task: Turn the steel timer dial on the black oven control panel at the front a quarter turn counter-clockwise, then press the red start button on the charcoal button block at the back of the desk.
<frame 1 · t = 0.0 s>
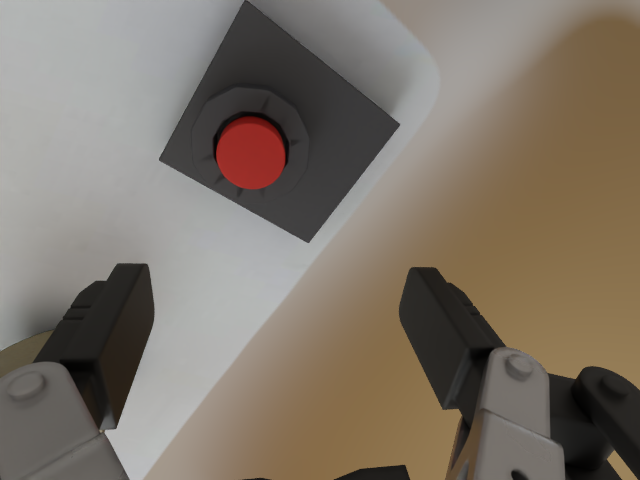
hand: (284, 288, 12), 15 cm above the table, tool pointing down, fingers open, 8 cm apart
button block: (280, 133, 24), on the table
bowl: (68, 349, 31), on the table
start button: (251, 153, 20), point 4 cm above the table, slide at 0.1 cm
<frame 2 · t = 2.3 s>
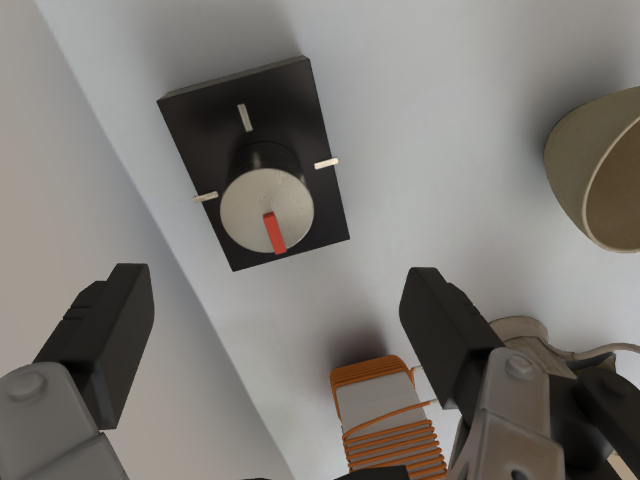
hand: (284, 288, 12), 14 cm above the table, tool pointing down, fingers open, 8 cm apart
bowl: (574, 142, 27), on the table
timer knob: (267, 196, 19), point 5 cm above the table, hinge at 0.0°
coil: (366, 374, 36), on the table
mug: (514, 336, 36), on the table
timer panel: (265, 163, 24), on the table
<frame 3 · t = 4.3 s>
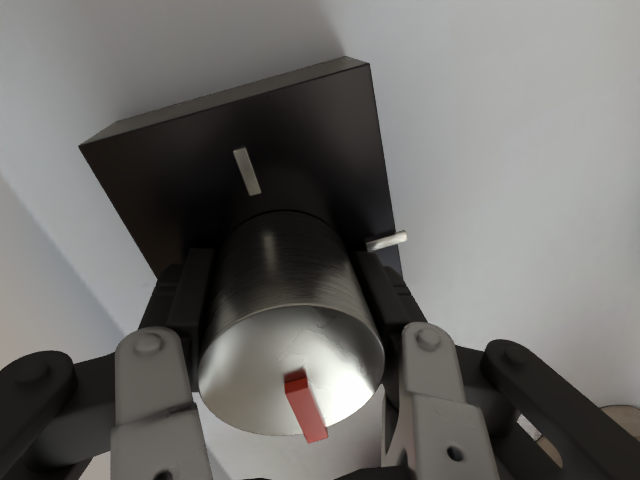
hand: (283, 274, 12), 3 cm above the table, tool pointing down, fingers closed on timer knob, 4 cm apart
timer knob: (288, 317, 10), point 5 cm above the table, hinge at -0.1°, touching gripper
mug: (604, 427, 27), on the table
timer panel: (279, 227, 15), on the table
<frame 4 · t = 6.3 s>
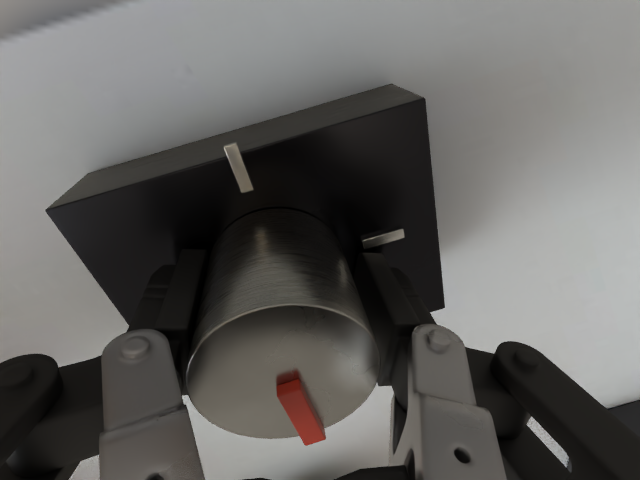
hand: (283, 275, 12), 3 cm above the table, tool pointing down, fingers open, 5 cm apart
button block: (631, 440, 28), on the table
timer knob: (281, 317, 10), point 5 cm above the table, hinge at 92.1°
timer panel: (274, 225, 15), on the table
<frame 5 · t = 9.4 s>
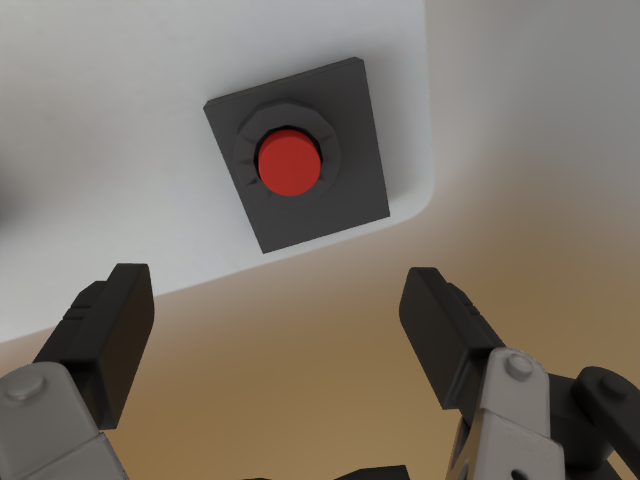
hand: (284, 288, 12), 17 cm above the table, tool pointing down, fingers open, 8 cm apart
button block: (303, 158, 27), on the table
start button: (289, 163, 22), point 4 cm above the table, slide at 0.1 cm
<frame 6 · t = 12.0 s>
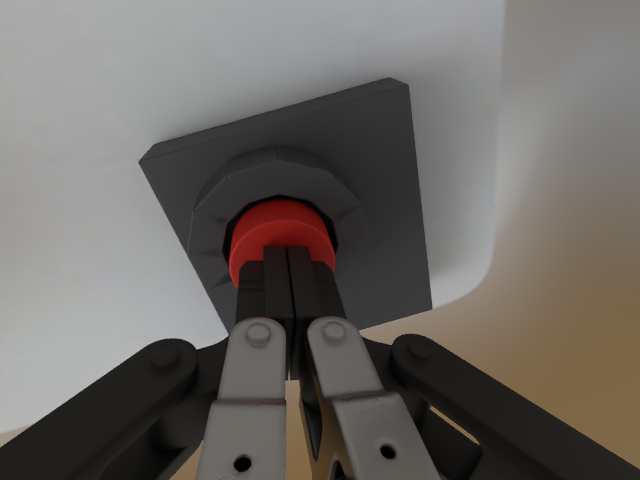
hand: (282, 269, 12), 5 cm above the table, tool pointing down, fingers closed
button block: (306, 225, 18), on the table
start button: (282, 254, 13), point 4 cm above the table, slide at 0.0 cm, touching gripper
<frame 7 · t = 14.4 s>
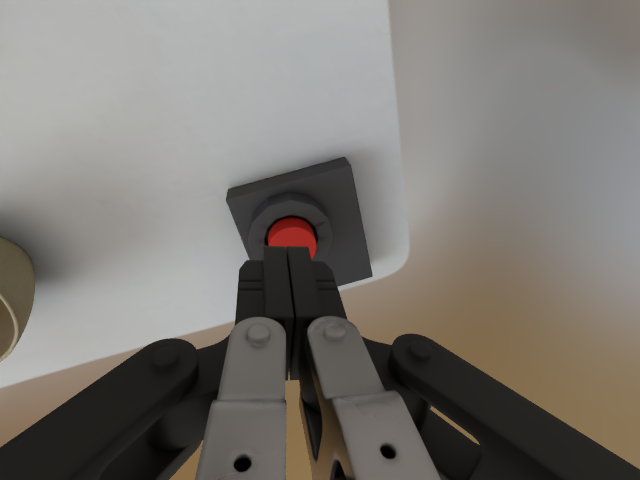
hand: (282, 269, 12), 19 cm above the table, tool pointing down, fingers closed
button block: (303, 229, 33), on the table
start button: (292, 242, 28), point 4 cm above the table, slide at 0.1 cm
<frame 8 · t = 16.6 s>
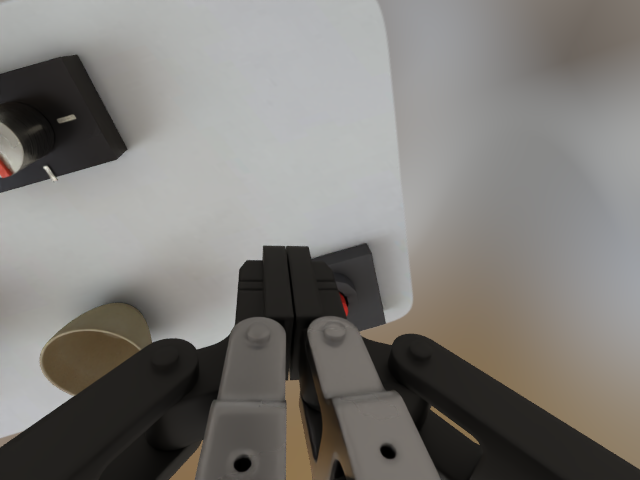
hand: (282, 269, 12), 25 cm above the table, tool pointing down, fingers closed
button block: (335, 291, 45), on the table
bowl: (120, 317, 43), on the table
timer knob: (4, 139, 27), point 5 cm above the table, hinge at 92.1°
start button: (330, 308, 41), point 4 cm above the table, slide at 0.1 cm
timer panel: (42, 122, 31), on the table
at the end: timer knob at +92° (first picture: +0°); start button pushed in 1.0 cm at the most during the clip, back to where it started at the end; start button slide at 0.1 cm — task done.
